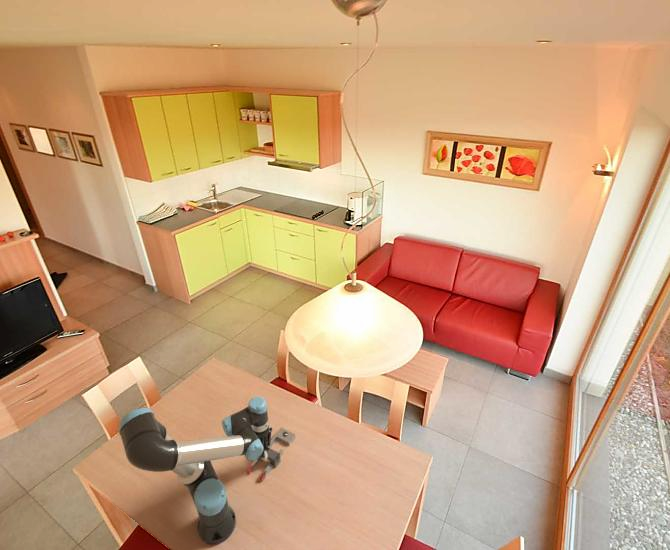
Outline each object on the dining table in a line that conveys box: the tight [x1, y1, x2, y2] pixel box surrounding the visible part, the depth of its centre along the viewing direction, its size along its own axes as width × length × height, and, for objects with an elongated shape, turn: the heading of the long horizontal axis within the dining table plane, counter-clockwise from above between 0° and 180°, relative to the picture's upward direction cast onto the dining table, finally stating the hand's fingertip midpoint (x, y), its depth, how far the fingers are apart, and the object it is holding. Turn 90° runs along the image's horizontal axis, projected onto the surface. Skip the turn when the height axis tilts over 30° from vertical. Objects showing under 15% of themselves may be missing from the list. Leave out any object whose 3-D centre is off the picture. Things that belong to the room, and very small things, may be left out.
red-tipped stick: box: [258, 448, 284, 482], centre depth 185 cm, size 17×2×2 cm, turn 151°
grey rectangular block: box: [267, 447, 282, 468], centre depth 187 cm, size 4×12×6 cm, turn 61°
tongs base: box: [246, 427, 296, 475], centre depth 191 cm, size 28×9×3 cm, turn 151°
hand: (264, 459), depth 185 cm, fingers closed
